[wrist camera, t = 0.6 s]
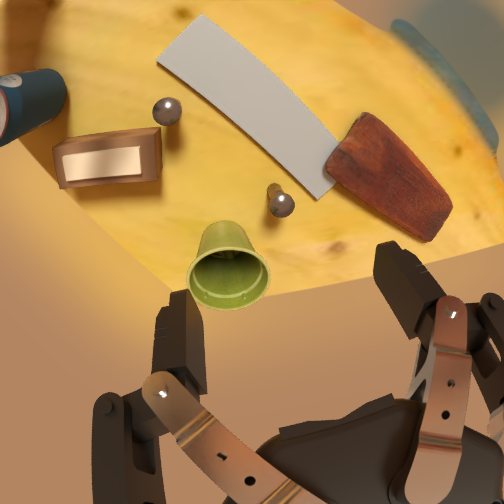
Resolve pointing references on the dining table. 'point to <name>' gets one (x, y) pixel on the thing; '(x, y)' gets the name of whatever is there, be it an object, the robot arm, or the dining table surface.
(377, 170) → the brown flat slab
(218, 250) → the plant pot
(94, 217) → the dining table surface
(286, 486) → the robot arm
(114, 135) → the wooden box
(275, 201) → the metal bolt
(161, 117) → the metal screw
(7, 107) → the soda can
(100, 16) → the dining table surface
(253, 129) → the wall strip
